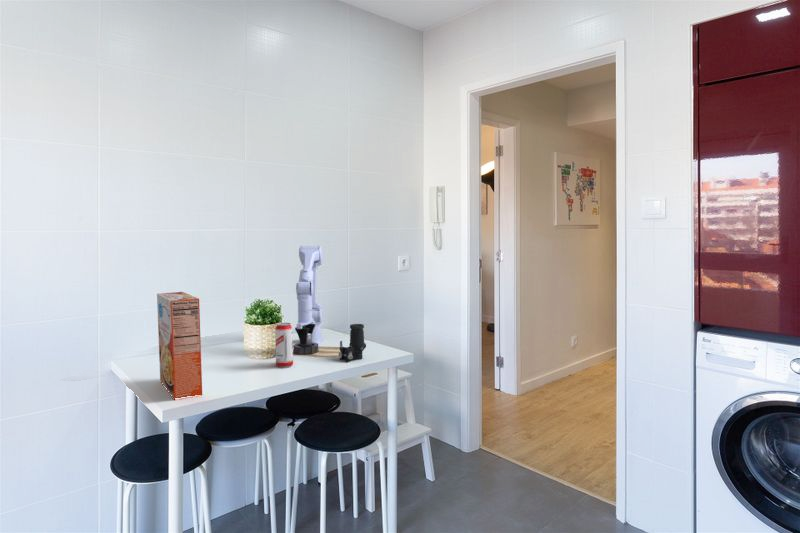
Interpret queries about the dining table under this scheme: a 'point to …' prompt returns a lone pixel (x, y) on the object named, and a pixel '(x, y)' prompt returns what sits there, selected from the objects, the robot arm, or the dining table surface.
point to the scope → (353, 344)
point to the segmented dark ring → (305, 349)
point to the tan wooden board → (324, 352)
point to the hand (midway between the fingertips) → (305, 343)
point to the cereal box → (179, 343)
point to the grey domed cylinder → (308, 341)
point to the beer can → (284, 345)
